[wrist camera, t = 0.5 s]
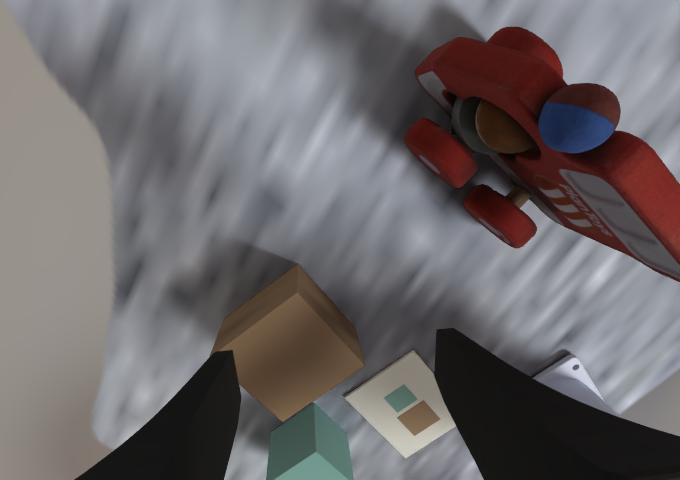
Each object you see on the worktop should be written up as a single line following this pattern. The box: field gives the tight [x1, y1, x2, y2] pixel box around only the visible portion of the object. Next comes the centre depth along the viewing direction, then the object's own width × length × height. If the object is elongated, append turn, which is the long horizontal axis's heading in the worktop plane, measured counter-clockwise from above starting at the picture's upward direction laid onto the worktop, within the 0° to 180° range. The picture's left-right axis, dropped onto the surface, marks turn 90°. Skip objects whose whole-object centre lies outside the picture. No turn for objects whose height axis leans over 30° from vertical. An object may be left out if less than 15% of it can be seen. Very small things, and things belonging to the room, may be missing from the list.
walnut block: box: [210, 264, 365, 422], centre depth 21 cm, size 6×6×4 cm
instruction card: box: [345, 350, 456, 458], centre depth 26 cm, size 8×6×1 cm
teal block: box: [266, 403, 354, 480], centre depth 24 cm, size 4×4×4 cm
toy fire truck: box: [404, 27, 680, 282], centre depth 15 cm, size 7×12×10 cm, turn 48°
